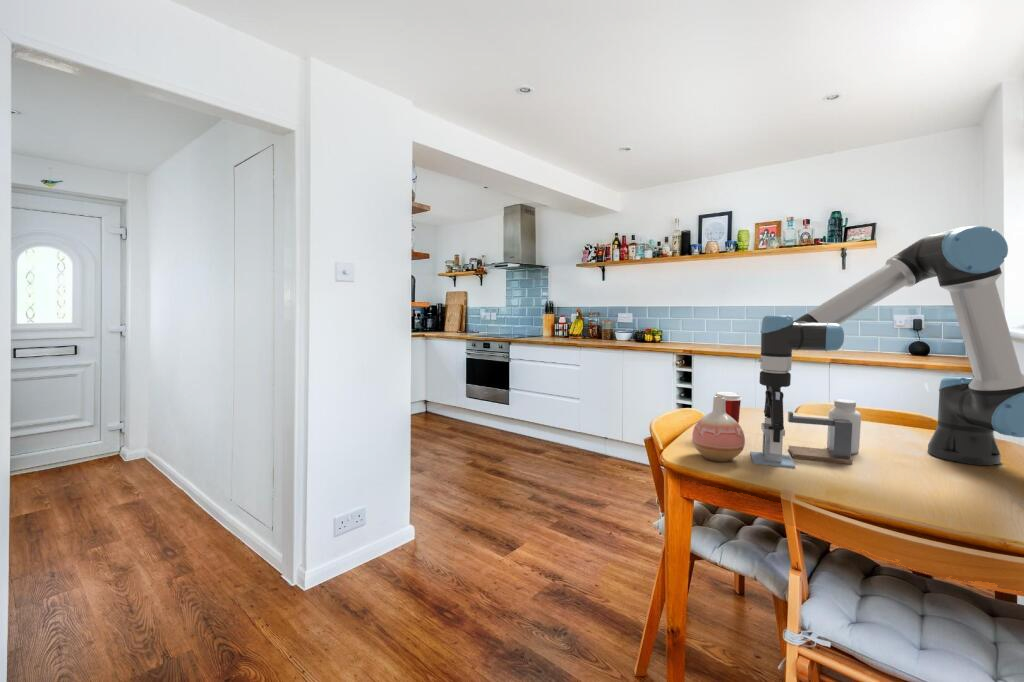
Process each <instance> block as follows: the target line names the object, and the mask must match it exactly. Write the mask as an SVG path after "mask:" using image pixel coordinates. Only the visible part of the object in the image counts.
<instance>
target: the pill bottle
mask: <svg viewBox="0 0 1024 682" xmlns="http://www.w3.org/2000/svg"><path fill="white" fill-rule="evenodd" d="M833 402H834V407H833V408H831V409H830V410H829V412H828V419H831V418H839V419H848V420H849V421H850V422H852V440H851V455H852V454H858V453H859V449H860V440H861V427H862V425H861V423H862V415H861V412H859V411H858V410H856V409H857V401H855V400H851V399H844V398H843V399H841V398H839V399H835V400H834V401H833ZM829 446H830V426H828V425H827V439H826V447H827V448H828V449H829Z"/></svg>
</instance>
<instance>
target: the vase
mask: <svg viewBox="0 0 1024 682" xmlns="http://www.w3.org/2000/svg"><path fill="white" fill-rule="evenodd" d="M714 396H715V395H714ZM714 396H713V400H712V411H711V412H709V413H707V414H706V415H704V416H702V417H701V418H700V419H699V420H698V421H697V422H696V424H695V425H694V427H693V430H692V434H691V435H692V440H691V441H692V444H693V446H694V448H695V450H697V451H698V453H700V454H701V455H702V457H703V458H705V459H706V460H709V461H711V462H712V461H713V462H718V463H719V462H720V463H727V462H730V461H732V460H733V459H734V458H736V457H738V456H739V455H740V454H741V453H742V452H743V450H744V448H745V444H746V437H745V432H744V430H743V427H742V426H741V425H740V423H739V424H738V423H737V422H736V421H735V420H734V419H733V418H732V417H731V416H729V415H728V414H727V413H726V412H725V397H721V396H715V397H714Z"/></svg>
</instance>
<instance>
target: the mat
mask: <svg viewBox="0 0 1024 682" xmlns="http://www.w3.org/2000/svg"><path fill="white" fill-rule="evenodd" d="M749 453H750V457H751V461H752V463H753V464H755V465H764V466H773V467H779V468H780V467H781V468H791V469H796V465H795V463H794V461H793V460H792V457H791V456H790V455H789V454H782V463H777V462H768V461H765V460H764V456H763V455H762V451H752V450H751V451H750V452H749Z"/></svg>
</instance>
